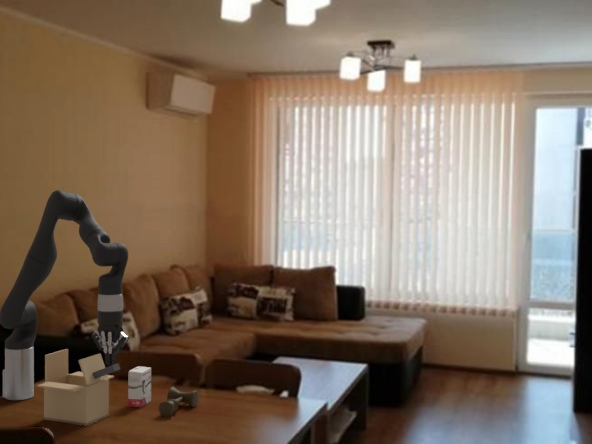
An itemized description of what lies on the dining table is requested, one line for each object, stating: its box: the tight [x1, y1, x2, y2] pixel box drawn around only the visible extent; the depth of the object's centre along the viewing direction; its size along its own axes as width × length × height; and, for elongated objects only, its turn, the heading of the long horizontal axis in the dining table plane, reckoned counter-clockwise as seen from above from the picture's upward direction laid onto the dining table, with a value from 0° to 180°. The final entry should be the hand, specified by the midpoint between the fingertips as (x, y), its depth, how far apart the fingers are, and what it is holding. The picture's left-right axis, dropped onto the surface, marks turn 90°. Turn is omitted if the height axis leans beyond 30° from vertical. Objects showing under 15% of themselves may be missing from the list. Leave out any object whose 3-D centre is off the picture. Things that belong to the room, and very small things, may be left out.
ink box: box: [127, 365, 152, 408], centre depth 243 cm, size 9×5×12 cm, turn 168°
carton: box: [36, 348, 115, 427], centre depth 227 cm, size 16×19×20 cm
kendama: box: [158, 386, 200, 418], centre depth 239 cm, size 6×10×20 cm
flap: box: [77, 353, 121, 385], centre depth 223 cm, size 8×10×9 cm
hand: (110, 365), depth 222 cm, fingers closed
